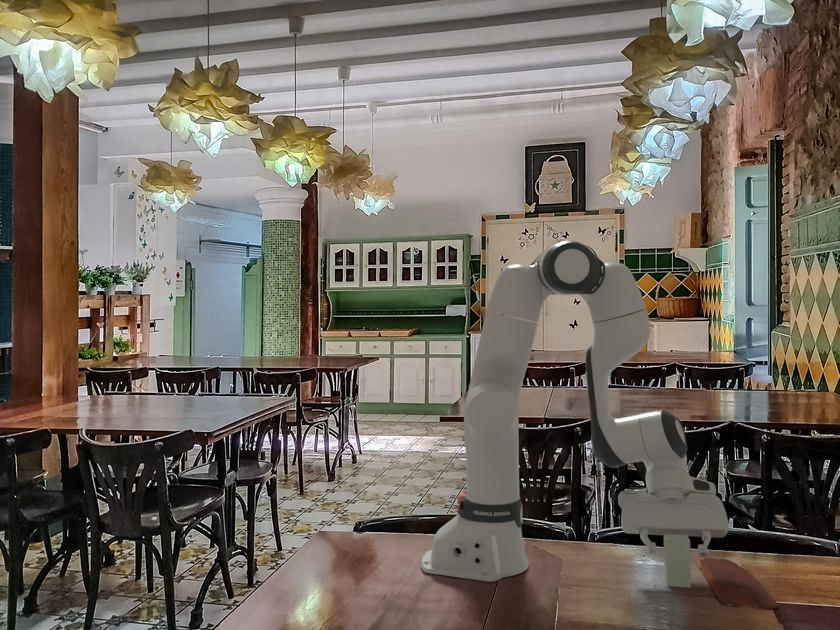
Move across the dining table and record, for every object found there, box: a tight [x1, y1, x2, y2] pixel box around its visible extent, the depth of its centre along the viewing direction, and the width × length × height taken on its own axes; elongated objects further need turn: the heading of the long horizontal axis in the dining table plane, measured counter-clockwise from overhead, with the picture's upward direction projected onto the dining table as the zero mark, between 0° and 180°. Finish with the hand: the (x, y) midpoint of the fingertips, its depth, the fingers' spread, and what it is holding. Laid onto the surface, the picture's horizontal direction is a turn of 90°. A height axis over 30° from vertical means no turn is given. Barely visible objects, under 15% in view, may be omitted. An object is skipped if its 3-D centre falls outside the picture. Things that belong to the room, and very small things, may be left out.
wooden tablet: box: [700, 558, 779, 610], centre depth 135 cm, size 27×10×2 cm, turn 170°
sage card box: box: [663, 534, 692, 589], centre depth 134 cm, size 4×3×9 cm
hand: (677, 554), depth 133 cm, fingers open, 8 cm apart
